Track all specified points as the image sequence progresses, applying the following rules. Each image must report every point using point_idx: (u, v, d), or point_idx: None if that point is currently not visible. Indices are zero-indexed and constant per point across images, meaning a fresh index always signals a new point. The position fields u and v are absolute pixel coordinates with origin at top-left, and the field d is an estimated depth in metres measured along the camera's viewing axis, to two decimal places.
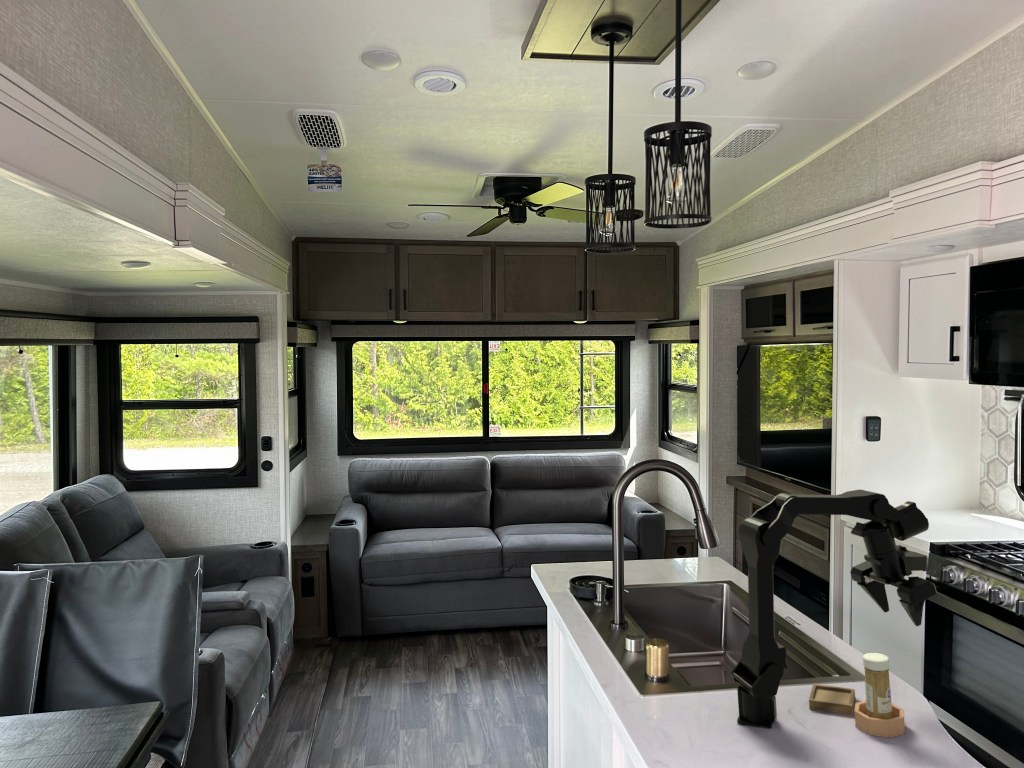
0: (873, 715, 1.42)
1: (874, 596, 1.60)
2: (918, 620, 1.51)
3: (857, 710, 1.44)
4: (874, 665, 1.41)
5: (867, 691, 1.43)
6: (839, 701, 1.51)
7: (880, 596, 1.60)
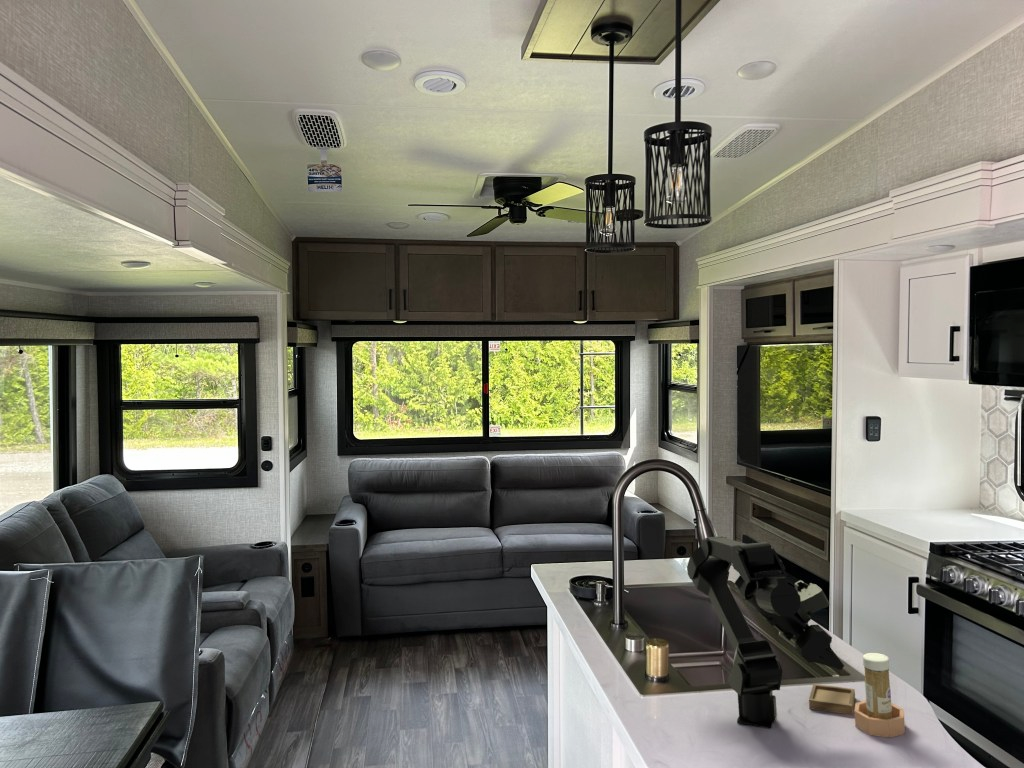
0: (873, 715, 1.42)
1: None
2: (837, 664, 1.38)
3: (857, 710, 1.44)
4: (874, 665, 1.41)
5: (867, 691, 1.43)
6: (839, 701, 1.51)
7: None
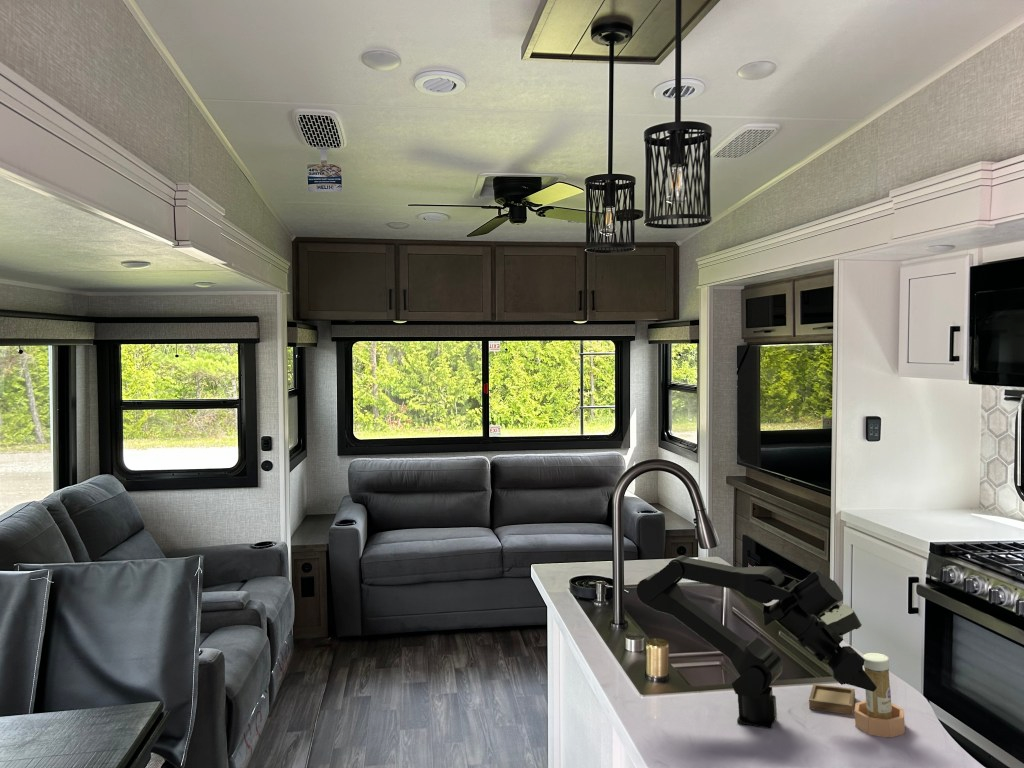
0: (873, 715, 1.42)
1: None
2: (870, 686, 1.38)
3: (857, 710, 1.44)
4: (874, 665, 1.41)
5: (867, 691, 1.43)
6: (839, 701, 1.51)
7: None
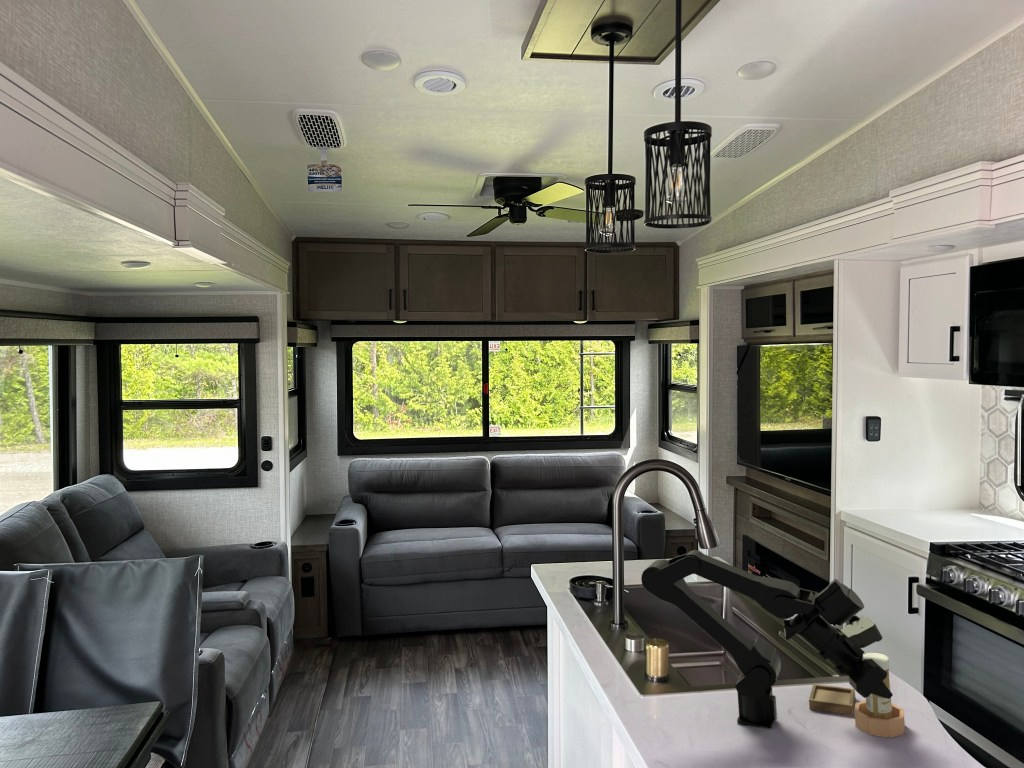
0: (873, 715, 1.42)
1: None
2: (886, 693, 1.40)
3: (857, 710, 1.44)
4: None
5: None
6: (839, 701, 1.51)
7: None
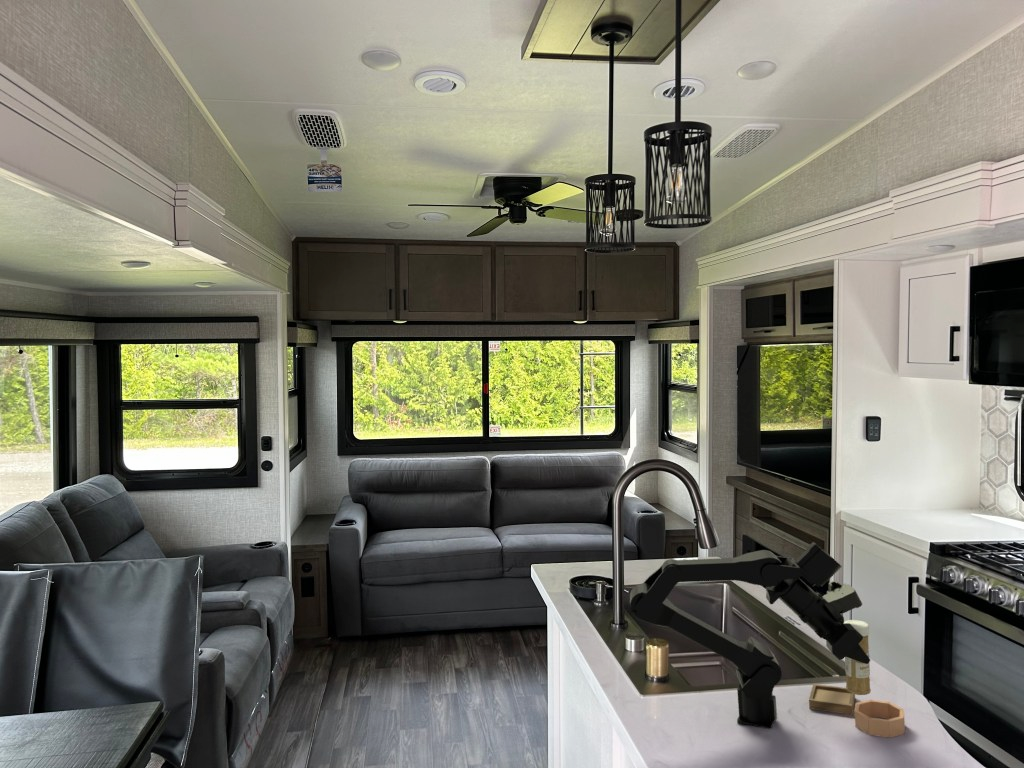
0: (851, 680, 1.45)
1: None
2: (864, 658, 1.43)
3: (857, 710, 1.44)
4: None
5: None
6: (839, 701, 1.51)
7: None
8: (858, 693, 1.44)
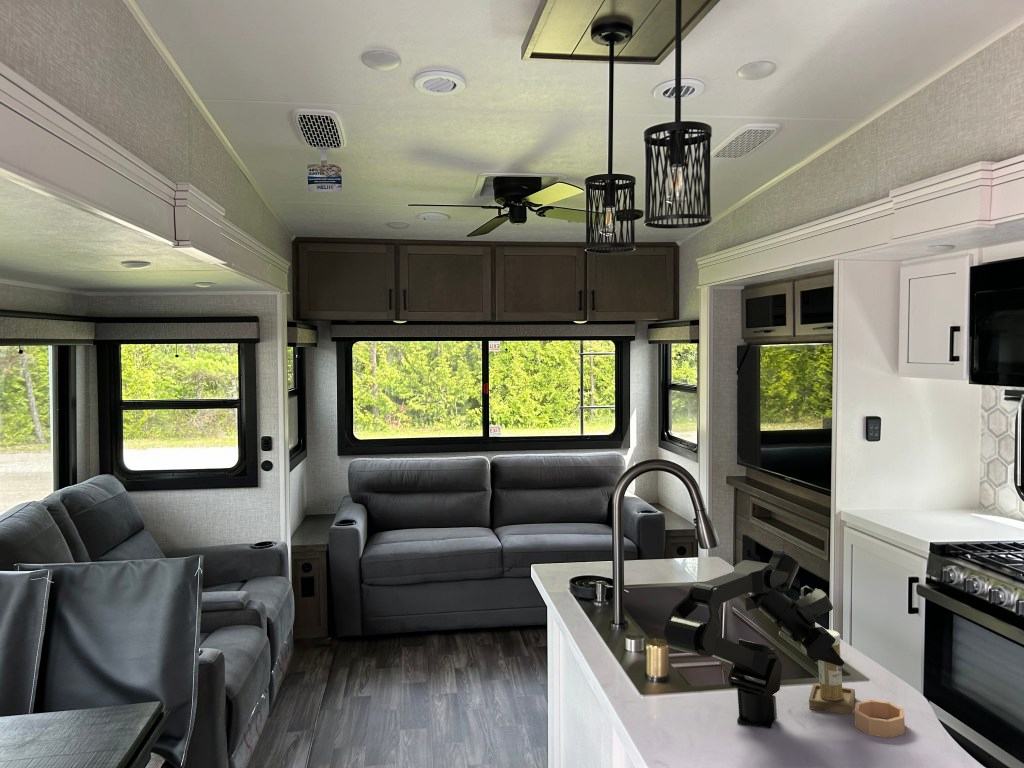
0: (825, 687, 1.52)
1: None
2: (838, 661, 1.49)
3: (857, 710, 1.44)
4: None
5: (819, 665, 1.53)
6: (839, 701, 1.51)
7: None
8: (831, 700, 1.51)
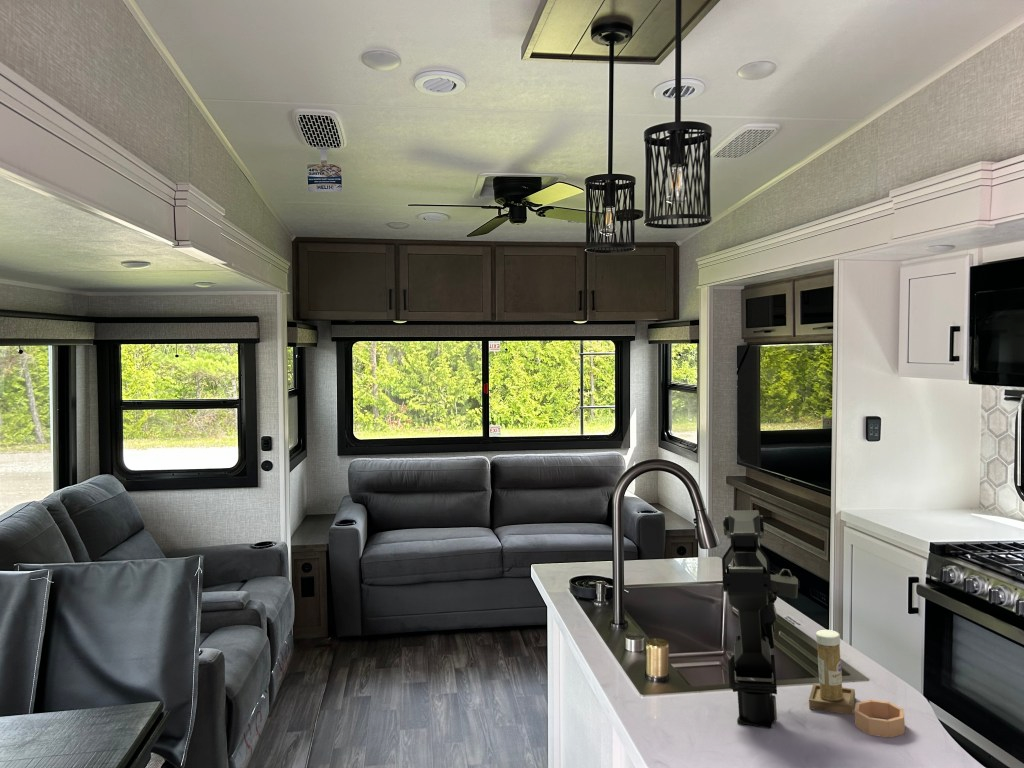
0: (825, 687, 1.52)
1: None
2: (769, 643, 1.53)
3: (857, 710, 1.44)
4: (825, 641, 1.51)
5: (819, 665, 1.53)
6: (839, 701, 1.51)
7: None
8: (831, 700, 1.51)
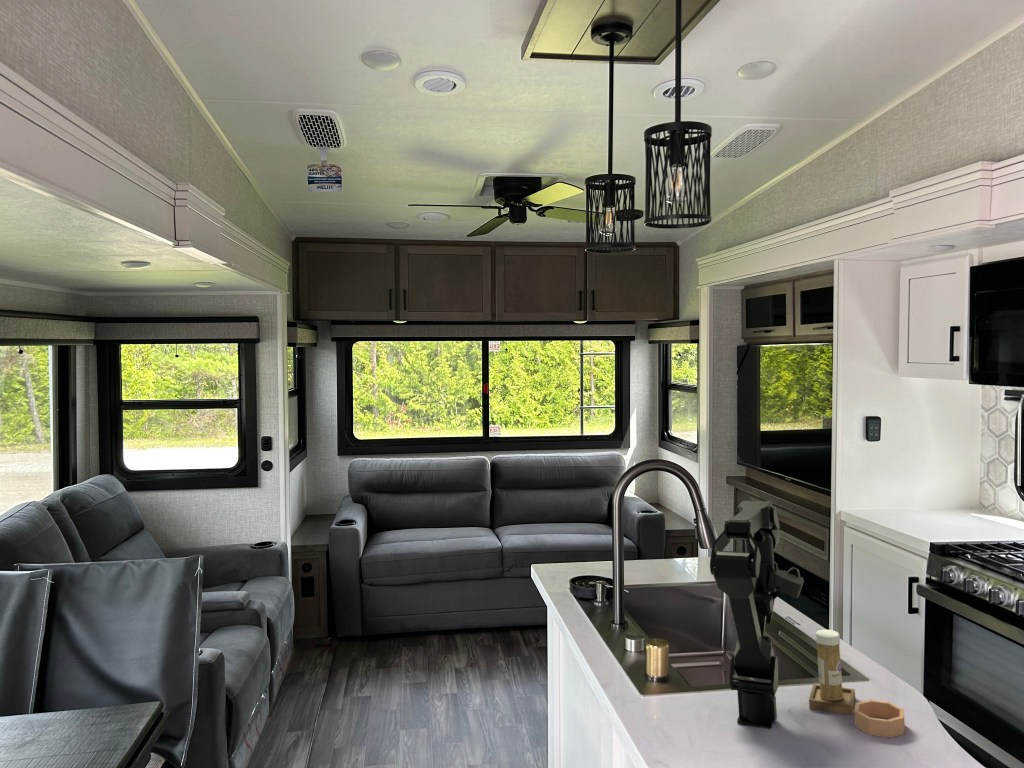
0: (824, 687, 1.52)
1: None
2: None
3: (857, 710, 1.44)
4: (825, 640, 1.51)
5: (819, 665, 1.53)
6: (839, 701, 1.51)
7: None
8: (831, 700, 1.51)
